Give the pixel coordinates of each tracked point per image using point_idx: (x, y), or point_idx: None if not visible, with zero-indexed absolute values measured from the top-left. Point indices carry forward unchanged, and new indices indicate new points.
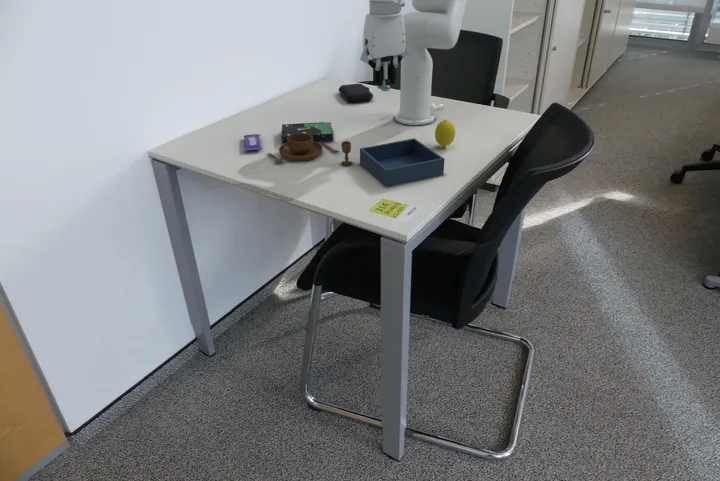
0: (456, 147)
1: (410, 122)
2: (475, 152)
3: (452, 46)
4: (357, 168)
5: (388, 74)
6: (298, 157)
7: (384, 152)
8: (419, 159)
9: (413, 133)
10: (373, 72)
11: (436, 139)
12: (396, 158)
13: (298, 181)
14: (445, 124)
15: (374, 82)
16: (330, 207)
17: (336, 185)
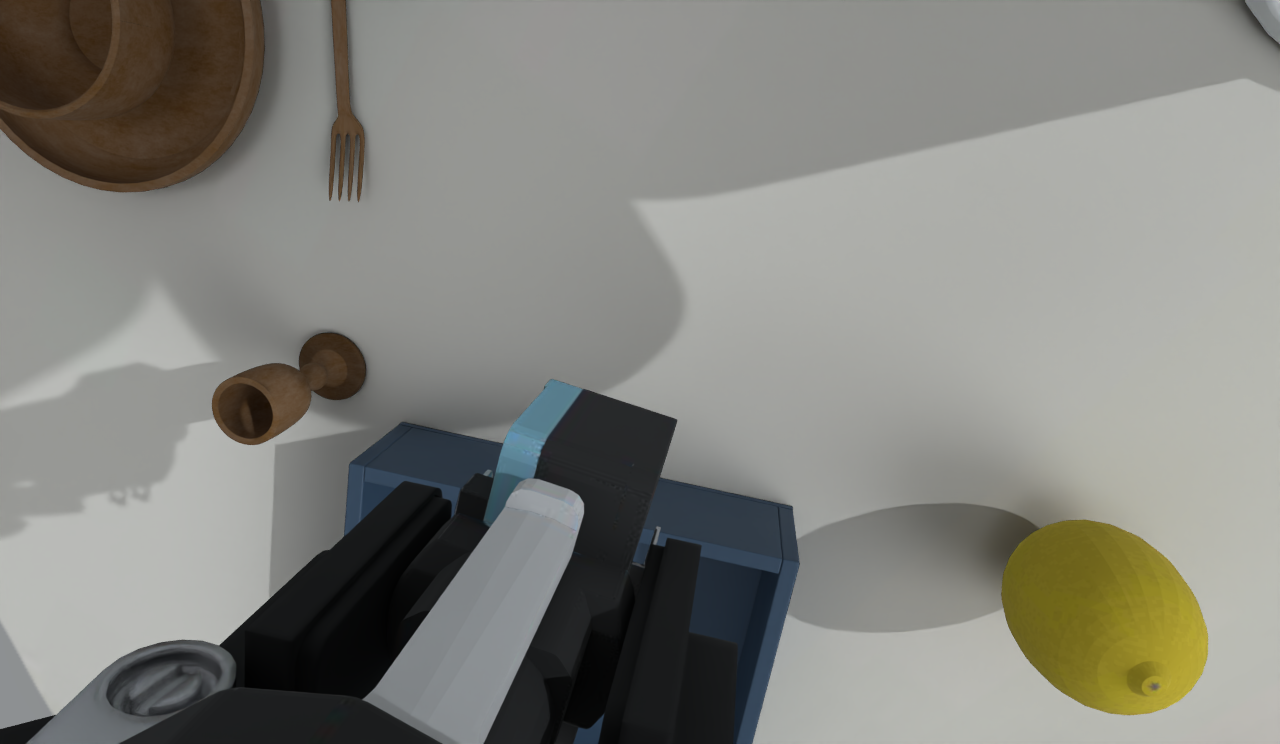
0: None
1: (1266, 5)
2: (1140, 733)
3: None
4: None
5: (579, 717)
6: (40, 162)
7: None
8: (744, 606)
9: (1102, 195)
10: (235, 646)
11: (1005, 570)
12: None
13: (5, 392)
14: (1097, 696)
15: (405, 487)
16: (65, 703)
17: (168, 554)
